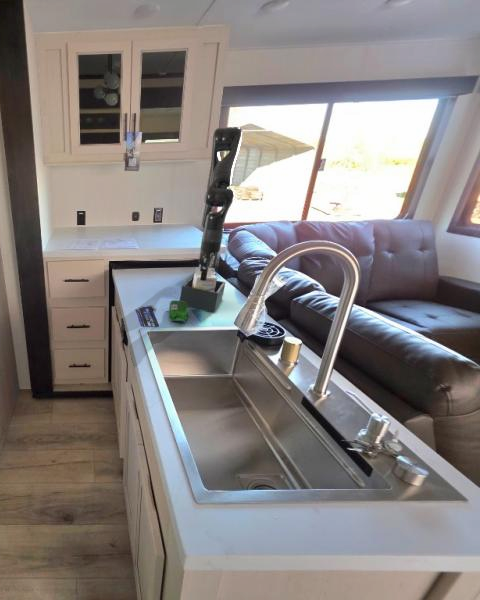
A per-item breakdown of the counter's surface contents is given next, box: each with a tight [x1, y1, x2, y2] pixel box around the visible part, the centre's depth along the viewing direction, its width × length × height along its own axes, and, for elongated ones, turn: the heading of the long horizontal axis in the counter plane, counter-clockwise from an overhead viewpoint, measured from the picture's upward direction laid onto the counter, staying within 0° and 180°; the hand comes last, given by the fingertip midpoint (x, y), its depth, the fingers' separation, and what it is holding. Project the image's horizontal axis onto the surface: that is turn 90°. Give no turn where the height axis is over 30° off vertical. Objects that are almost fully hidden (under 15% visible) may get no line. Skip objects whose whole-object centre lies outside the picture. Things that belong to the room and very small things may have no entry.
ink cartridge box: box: [192, 266, 218, 292], centre depth 136 cm, size 9×5×15 cm, turn 84°
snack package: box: [168, 300, 189, 322], centre depth 125 cm, size 7×16×5 cm, turn 165°
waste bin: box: [179, 275, 226, 314], centre depth 138 cm, size 16×15×9 cm
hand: (205, 277), depth 135 cm, fingers closed on ink cartridge box, 6 cm apart
